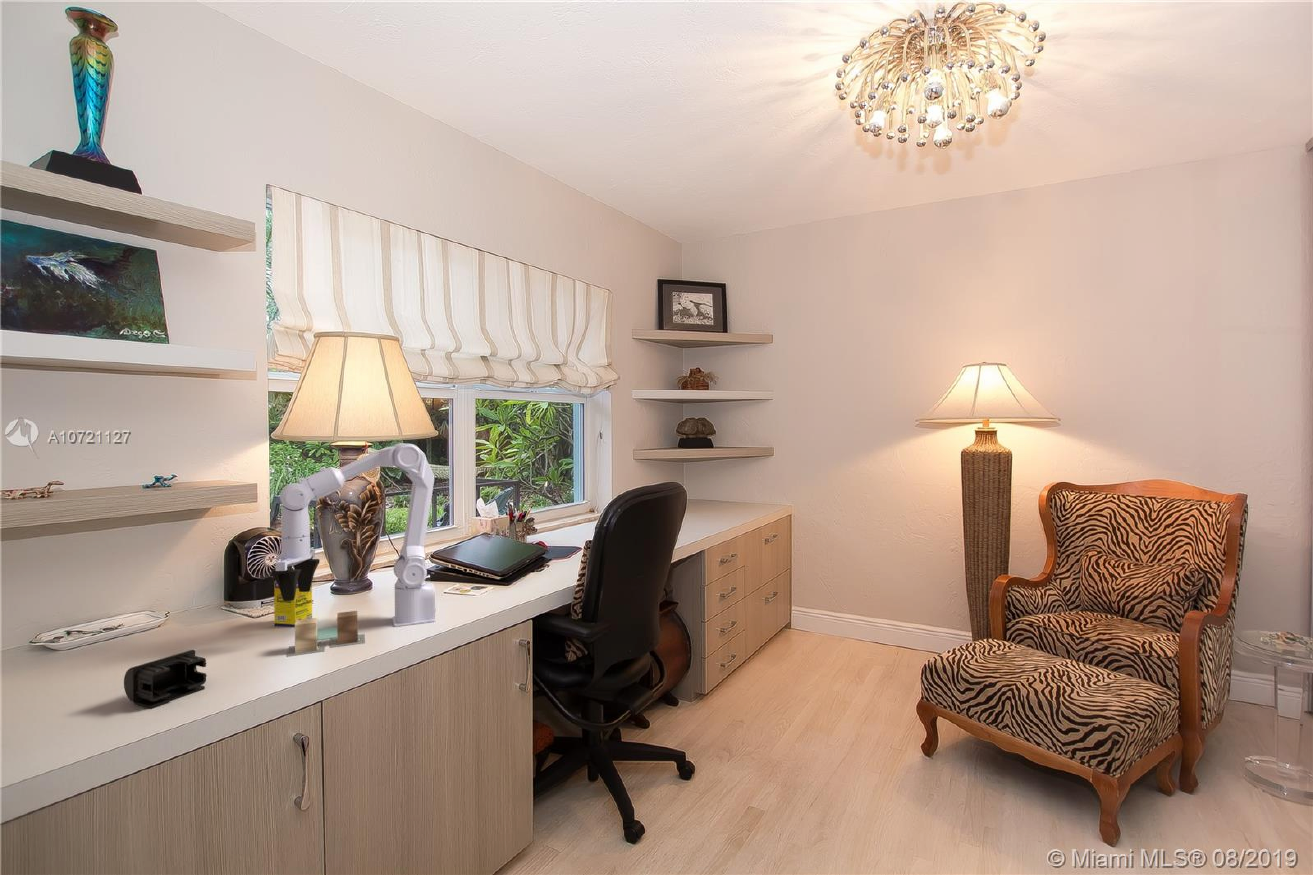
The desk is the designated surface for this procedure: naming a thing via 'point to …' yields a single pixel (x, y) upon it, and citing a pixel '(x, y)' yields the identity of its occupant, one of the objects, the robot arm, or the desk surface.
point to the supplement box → (292, 607)
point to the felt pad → (327, 633)
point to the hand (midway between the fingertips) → (296, 595)
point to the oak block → (306, 635)
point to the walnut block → (347, 627)
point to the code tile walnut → (335, 643)
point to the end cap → (165, 680)
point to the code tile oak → (319, 649)
